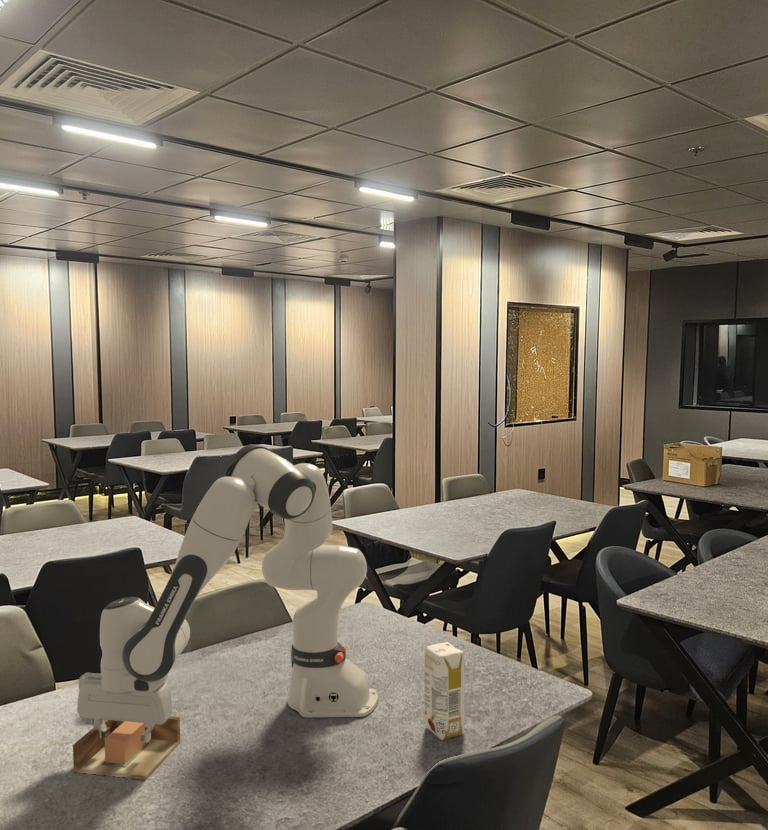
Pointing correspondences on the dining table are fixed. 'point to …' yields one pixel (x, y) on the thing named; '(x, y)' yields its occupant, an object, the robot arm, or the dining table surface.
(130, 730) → the brick
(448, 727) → the juice carton
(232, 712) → the dining table surface
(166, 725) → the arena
